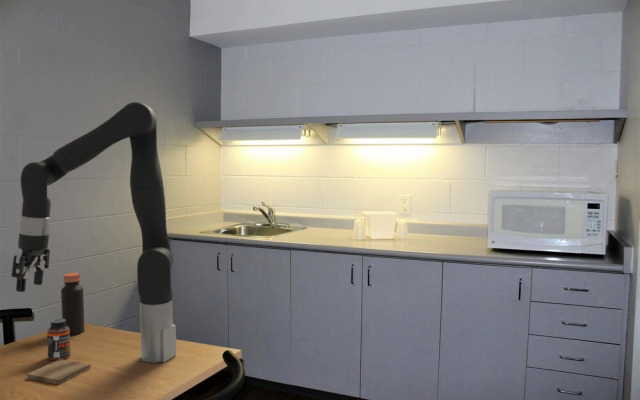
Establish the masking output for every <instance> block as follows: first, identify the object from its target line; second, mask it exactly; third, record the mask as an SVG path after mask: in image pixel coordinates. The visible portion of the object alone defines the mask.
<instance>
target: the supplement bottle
mask: <svg viewBox="0 0 640 400" xmlns="http://www.w3.org/2000/svg"><path fill="white" fill-rule="evenodd" d="M46 334H47V335H46V337H47V358H48V360H50V361H53V362H55V361H57V360H59V359H63V360H67V359H68V358H69V357H70V356H71V335H70V329H69V327H68V326H67V325H66V320H65V319H62V318H56V319H52V320H51V321H50V327H49V328H48V329H47V333H46Z"/></svg>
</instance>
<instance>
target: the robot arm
mask: <svg viewBox="0 0 640 400" xmlns="http://www.w3.org/2000/svg"><path fill="white" fill-rule="evenodd" d="M157 119H158V118H157V115H156V113H155V111H154V110H153V109H152V108H151V107H150V106H149V105H147V104H145V103H143V102H138V101H133V102H128V103H127V104H126V105H125V106H123V107H122V108H121V109H120V110H119V111H117V112H116V113H115V114H114V115H112V116H111V117H110V118H108V119H107V120H105V122H102V124H100V125H98V126H97V127H95V128H94V129H92V130H89V132H87V133H84V134H83V135H81V136H79V137H77V138H76V139H73V140H72V141H70V142H69V143H66V144H64V145H63V146H61V147H59V148H58V149H57V150H55V151H54V152H53V154H52V155H50V156H49V157H47V158H45V159H42V160H40V161H35V162H34V161H33V162H30V163H29V162H28V163H27V164H26V165H24V166H23V169H22V170H21V172H20V173H21V174H20V189H21V195H22V205H21V217H20V221H19V230H18V242H17V247H18V249H20V250H21V255H16V254H15V255H14V256H13V260H12V261H13V262H12V270H11V277H12V278H16V287H15V291H16V292H17V293H18V292H19V293H23V292H26V287H27V286H26V285H27V277H28V274H29V273H31V272H32V270H33V269H34V276H33V277H34V278H33V284H34V285H36V286H37V285H38V286H41V285H43V282H44V281H43V280H44V273H45V271H46V269H49V268H50V254H51V253H50V251H51V250H50V249H49V241H50V240H49V239H50V230H51V229H50V228H51V220H50V219H51V218H50V217H51V207H52V205H51V203H52V202H51V199H50V197H48V186H50V185H52V184H54V183H56V182H57V181H59V180H60V179H62V178H63V177H65V176H66V175H67V174H68V173H71V172H72V171H74V170H76V169H78V168H80V167H81V166H84V165H85V164H87V163H89V162H90V161H92V160H93V159H95V158H96V157H97V156H99V155H100V154H101V153H103V152H105V150H106V149H108V148H109V147H111V146H113V145H115V144H116V143H118V142H121V141H123V140H125V139H128V138H129V142H130V149H131V164H130V172H129V173H130V174H129V185H130V186H129V188H130V195H131V203H132V207H133V210H134V213H135V216H136V219H137V222H138V224H139V228H140V231H141V240H142V241H141V242H142V246H141V247H142V250H141V251H142V252H141V254H140V256H139V258H137V259H138V261H137V266H136V267H137V268H136V269H137V270H136V271H137V277H136V278H137V291H138V295H139V316H140V317H139V320H140V321H139V322H140V327H139V328H140V358H141V361H142V362H145V363H153V364H154V363H166V362H168V361H169V360H170V359H172V358H174V357H175V356H177V328H176V327H177V325H176V324H174V320H173V319H174V318H173V317H174V315H173V313H174V311H173V290H172V282H171V281H172V280H171V279H172V278H171V270H172V269H171V268H172V266H173V263H174V257H173V253H172V250H171V245H170V244H171V243H170V241H169V235H168V231H167V212H166V211H167V209H166V196H165V188H164V182H163V181H164V180H163V173H162V168H161V163H160V159H159V153H158V138H157V137H158V135H157V133H158V130H157V127H158V126H157V125H158V123H157Z"/></svg>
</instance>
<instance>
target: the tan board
mask: <svg viewBox="0 0 640 400" xmlns="http://www.w3.org/2000/svg"><path fill="white" fill-rule="evenodd" d="M90 369H91V364H90V363H85V362H79V361H74V360H68V359H59V360H57V361H53V362H50V363H49V364H46V365H44V366H42V367H39V368H37V369H35V370H33V371H30V372H28V373H27V379H28V380H34V381H38V382H39V381H40V382H45V383H50V384H55V385H61V384H63V383H65V382H67V381H69V380H71V379H73V378H75V377H77V376H79V375H80V374H83V373H85V372H87V371H89V370H90Z"/></svg>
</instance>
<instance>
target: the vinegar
mask: <svg viewBox="0 0 640 400" xmlns="http://www.w3.org/2000/svg"><path fill="white" fill-rule="evenodd" d="M80 275H81V274H80V273H79V272H70V273H65V274H63V283H64V286H63V287H62V288H61V290H60V295H61V296H60V298H61V319H65V320H66V325H67V326H68V327H69V329H70V336H76V335H80V334H83V333H84V332H85V305H84V303H85V302H84V301H85V300H84V288H83V286H82V285H81V284H80V282H81V281H80V280H81V278H80V277H81V276H80Z"/></svg>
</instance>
